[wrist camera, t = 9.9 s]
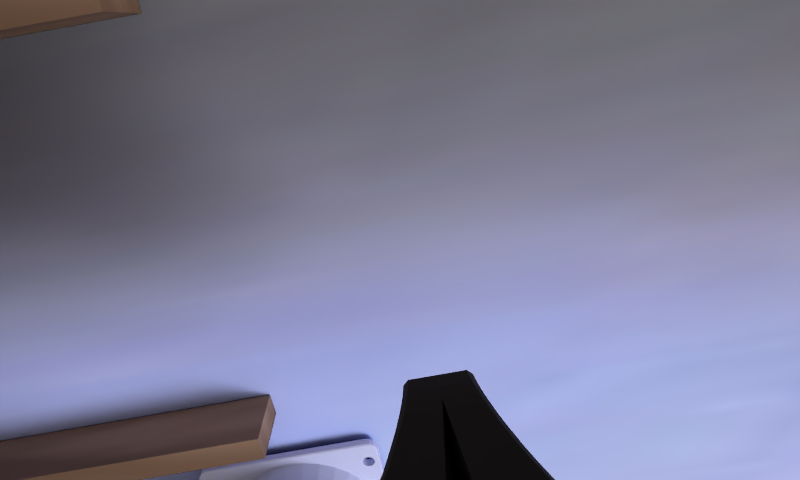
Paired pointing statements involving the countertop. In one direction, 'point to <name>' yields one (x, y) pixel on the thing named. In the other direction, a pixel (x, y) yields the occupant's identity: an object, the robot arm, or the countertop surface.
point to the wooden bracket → (145, 436)
